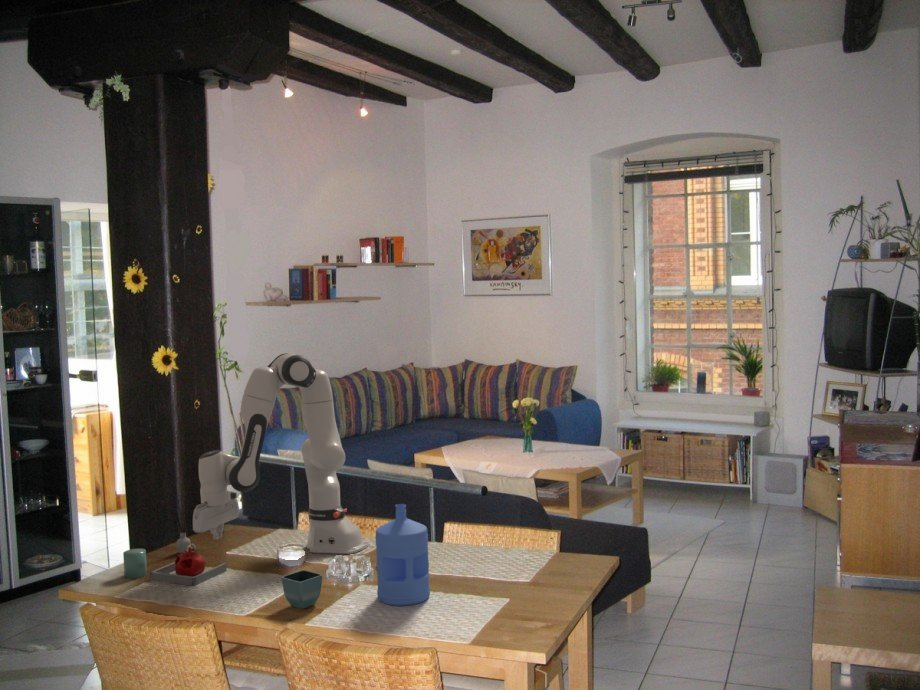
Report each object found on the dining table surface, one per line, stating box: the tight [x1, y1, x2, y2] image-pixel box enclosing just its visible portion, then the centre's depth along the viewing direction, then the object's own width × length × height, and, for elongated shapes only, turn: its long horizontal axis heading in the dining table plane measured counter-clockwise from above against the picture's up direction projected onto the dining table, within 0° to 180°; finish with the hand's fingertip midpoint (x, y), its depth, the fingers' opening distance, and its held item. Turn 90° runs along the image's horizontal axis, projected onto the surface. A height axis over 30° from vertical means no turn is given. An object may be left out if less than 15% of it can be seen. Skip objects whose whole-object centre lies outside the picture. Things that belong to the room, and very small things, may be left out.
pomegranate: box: [174, 547, 206, 577], centre depth 300 cm, size 10×10×9 cm
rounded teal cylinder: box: [122, 548, 148, 580], centre depth 300 cm, size 7×7×8 cm
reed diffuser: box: [171, 497, 197, 554], centre depth 324 cm, size 10×7×20 cm
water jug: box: [375, 503, 431, 607], centre depth 271 cm, size 16×16×28 cm
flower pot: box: [281, 569, 323, 610], centre depth 267 cm, size 9×9×9 cm
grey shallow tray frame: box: [149, 561, 228, 587], centre depth 299 cm, size 18×16×2 cm
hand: (217, 538), depth 311 cm, fingers closed
